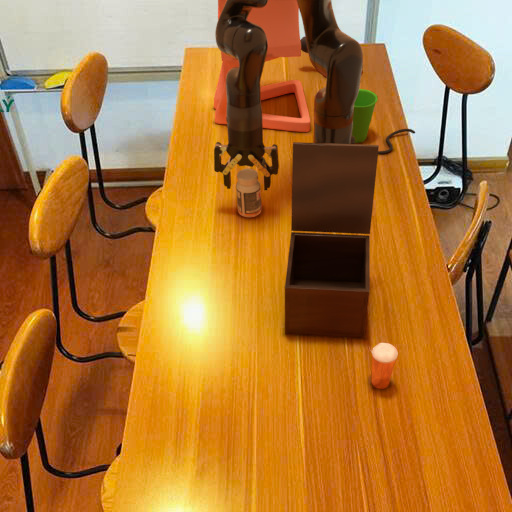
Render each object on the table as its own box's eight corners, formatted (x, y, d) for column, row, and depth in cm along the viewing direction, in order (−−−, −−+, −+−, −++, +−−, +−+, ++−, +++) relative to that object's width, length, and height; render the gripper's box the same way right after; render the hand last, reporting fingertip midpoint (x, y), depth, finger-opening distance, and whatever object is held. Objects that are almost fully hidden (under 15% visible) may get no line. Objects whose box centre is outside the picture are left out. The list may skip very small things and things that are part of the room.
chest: (363, 338, 136) (369, 291, 126) (284, 334, 137) (284, 287, 127) (364, 282, 146) (369, 235, 136) (290, 279, 147) (291, 231, 138)
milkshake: (361, 374, 130) (366, 337, 122) (389, 372, 130) (396, 335, 122) (365, 393, 127) (371, 356, 119) (394, 390, 127) (401, 353, 119)
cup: (371, 148, 179) (375, 107, 170) (337, 145, 180) (339, 104, 172) (375, 130, 184) (379, 90, 176) (341, 127, 186) (344, 87, 177)
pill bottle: (264, 206, 164) (263, 169, 156) (256, 220, 160) (255, 183, 153) (242, 202, 165) (240, 165, 157) (234, 215, 162) (231, 178, 154)
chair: (212, 94, 198) (200, -43, 171) (300, 89, 199) (302, -49, 172) (215, 138, 183) (203, -5, 156) (311, 132, 184) (315, -11, 157)
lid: (378, 146, 124) (378, 144, 125) (292, 143, 126) (293, 142, 126) (369, 234, 136) (369, 232, 136) (291, 231, 137) (291, 229, 138)
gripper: (279, 113, 147) (279, 179, 160) (213, 110, 148) (219, 177, 160) (276, 131, 142) (277, 198, 155) (208, 128, 143) (214, 195, 156)
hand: (247, 187), depth 158 cm, fingers open, 8 cm apart
